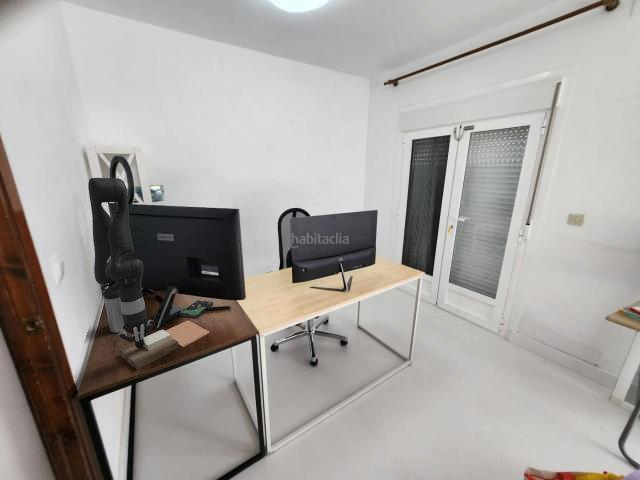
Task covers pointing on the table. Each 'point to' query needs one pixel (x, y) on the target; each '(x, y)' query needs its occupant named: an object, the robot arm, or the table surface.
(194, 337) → the mat
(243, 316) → the table surface
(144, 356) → the deck
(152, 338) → the tile
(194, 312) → the disk drive
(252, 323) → the table surface
